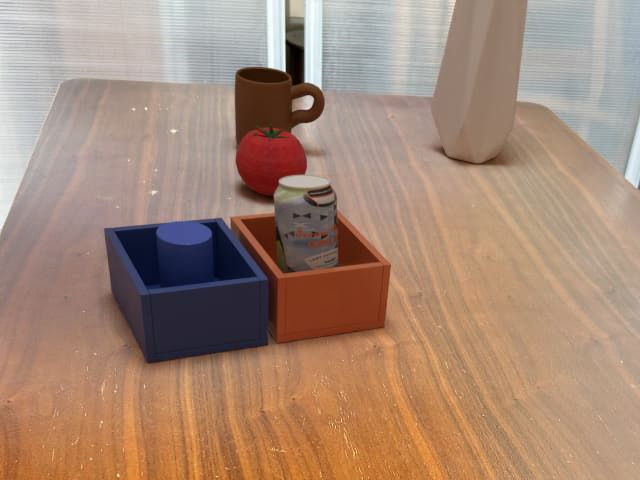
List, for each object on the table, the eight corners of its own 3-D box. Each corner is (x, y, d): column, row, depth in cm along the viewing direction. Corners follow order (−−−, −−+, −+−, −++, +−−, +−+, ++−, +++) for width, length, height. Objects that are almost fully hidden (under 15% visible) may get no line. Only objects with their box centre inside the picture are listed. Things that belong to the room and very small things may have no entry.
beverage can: (302, 321, 87) (306, 201, 79) (259, 290, 91) (258, 172, 83) (351, 305, 91) (360, 188, 82) (307, 275, 94) (312, 161, 86)
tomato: (231, 201, 108) (230, 133, 103) (240, 174, 114) (239, 109, 109) (303, 208, 109) (306, 141, 103) (308, 181, 115) (310, 117, 110)
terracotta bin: (277, 343, 85) (277, 278, 80) (231, 279, 94) (230, 216, 89) (384, 327, 90) (391, 264, 85) (332, 267, 98) (335, 207, 94)
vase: (416, 158, 126) (450, -128, 104) (439, 134, 134) (475, -135, 112) (498, 177, 124) (550, -110, 102) (516, 152, 132) (568, -119, 110)
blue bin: (147, 363, 80) (140, 294, 76) (111, 293, 89) (103, 228, 84) (268, 344, 85) (268, 279, 80) (223, 280, 93) (221, 217, 89)
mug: (325, 147, 125) (329, 75, 119) (318, 166, 119) (322, 92, 113) (241, 135, 125) (240, 63, 118) (230, 154, 119) (229, 79, 113)
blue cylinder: (170, 327, 84) (164, 246, 78) (156, 302, 87) (149, 223, 81) (221, 320, 86) (219, 241, 80) (206, 295, 89) (202, 218, 83)
